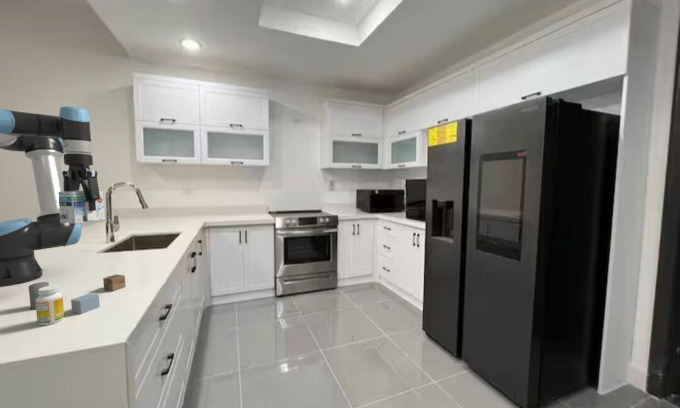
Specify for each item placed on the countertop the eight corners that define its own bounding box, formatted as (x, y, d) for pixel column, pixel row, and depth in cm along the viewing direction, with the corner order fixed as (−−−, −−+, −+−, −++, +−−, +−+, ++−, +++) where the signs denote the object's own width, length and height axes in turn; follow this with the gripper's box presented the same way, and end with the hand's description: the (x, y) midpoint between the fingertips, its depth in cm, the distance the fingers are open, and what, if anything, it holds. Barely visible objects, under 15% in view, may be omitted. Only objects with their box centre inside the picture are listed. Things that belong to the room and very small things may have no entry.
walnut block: (104, 290, 105) (103, 278, 105) (116, 286, 109) (115, 274, 109) (113, 291, 104) (112, 279, 103) (125, 287, 108) (124, 275, 108)
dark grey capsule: (27, 308, 91) (24, 286, 90) (45, 302, 95) (42, 281, 94) (36, 310, 89) (34, 287, 89) (54, 304, 93) (52, 282, 93)
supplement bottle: (38, 328, 79) (35, 293, 78) (36, 321, 82) (33, 288, 81) (66, 320, 83) (63, 287, 82) (63, 314, 86) (60, 282, 85)
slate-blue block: (72, 312, 88) (71, 299, 88) (90, 305, 93) (89, 293, 92) (81, 314, 87) (80, 301, 86) (99, 307, 91) (98, 294, 91)
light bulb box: (75, 223, 99) (72, 191, 98) (59, 223, 100) (56, 191, 99) (106, 219, 109) (104, 190, 108) (91, 218, 110) (89, 189, 109)
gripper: (45, 153, 102) (51, 220, 104) (86, 152, 96) (92, 222, 98) (70, 155, 109) (76, 217, 111) (110, 153, 103) (115, 219, 105)
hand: (83, 219), depth 105 cm, fingers closed on light bulb box, 7 cm apart
